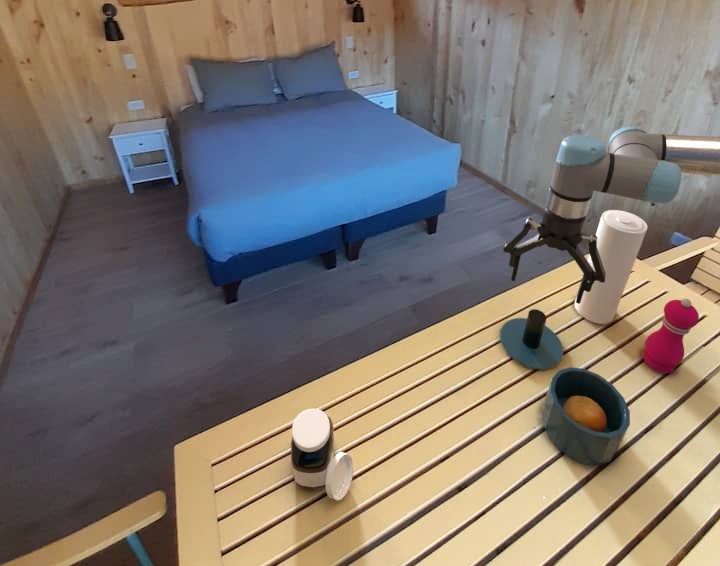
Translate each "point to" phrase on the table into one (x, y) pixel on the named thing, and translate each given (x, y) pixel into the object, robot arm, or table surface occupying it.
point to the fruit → (586, 413)
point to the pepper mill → (670, 336)
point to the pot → (575, 437)
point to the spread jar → (319, 455)
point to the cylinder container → (612, 264)
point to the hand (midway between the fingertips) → (545, 288)
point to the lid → (531, 341)
